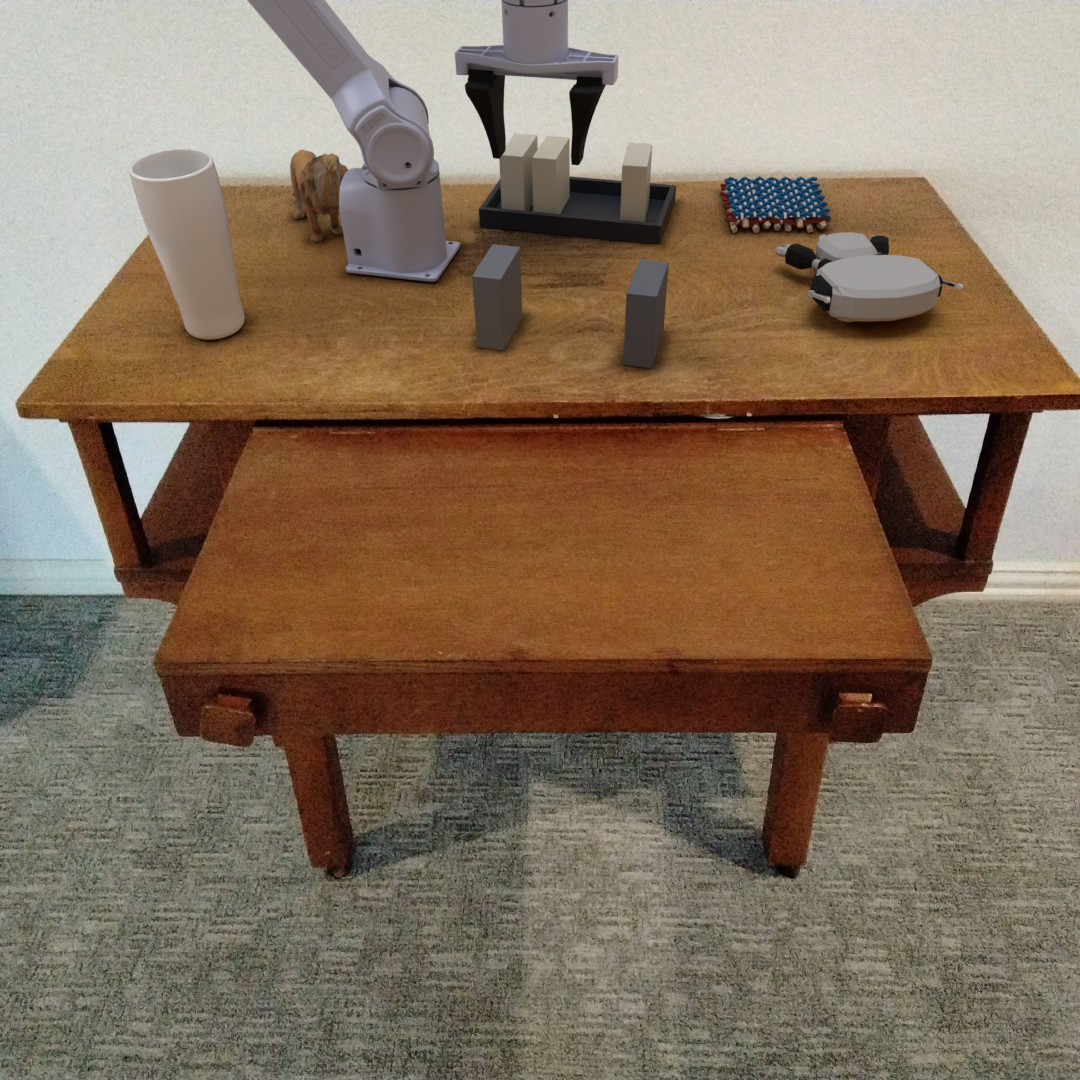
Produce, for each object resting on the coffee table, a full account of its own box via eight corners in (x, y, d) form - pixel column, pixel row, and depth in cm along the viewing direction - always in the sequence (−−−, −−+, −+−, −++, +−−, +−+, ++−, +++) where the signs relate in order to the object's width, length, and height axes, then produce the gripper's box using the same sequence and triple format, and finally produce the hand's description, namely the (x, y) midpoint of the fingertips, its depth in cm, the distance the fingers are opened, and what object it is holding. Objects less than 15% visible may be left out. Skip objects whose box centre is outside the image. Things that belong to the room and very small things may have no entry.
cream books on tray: (501, 215, 103) (498, 154, 99) (517, 192, 108) (514, 133, 103) (556, 220, 102) (555, 159, 98) (569, 197, 106) (569, 137, 102)
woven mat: (717, 191, 108) (719, 173, 107) (813, 191, 107) (816, 173, 106) (726, 233, 100) (728, 214, 99) (830, 233, 100) (834, 214, 98)
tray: (479, 227, 103) (478, 208, 101) (506, 188, 110) (505, 170, 108) (659, 244, 99) (661, 225, 97) (675, 203, 106) (676, 185, 105)
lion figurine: (373, 242, 100) (360, 155, 94) (325, 256, 98) (309, 168, 92) (315, 194, 110) (300, 112, 103) (271, 206, 107) (253, 122, 101)
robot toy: (763, 275, 95) (823, 344, 84) (769, 230, 92) (831, 295, 81) (882, 263, 97) (957, 330, 85) (891, 218, 94) (969, 281, 82)
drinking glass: (218, 354, 85) (170, 186, 75) (162, 335, 88) (108, 170, 77) (269, 319, 89) (231, 155, 79) (214, 302, 92) (170, 141, 82)
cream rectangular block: (619, 227, 101) (622, 164, 96) (625, 203, 105) (628, 142, 101) (643, 228, 100) (647, 166, 96) (648, 204, 105) (652, 143, 100)
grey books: (477, 347, 85) (471, 276, 80) (496, 313, 89) (492, 243, 85) (652, 368, 82) (657, 296, 77) (663, 332, 86) (668, 261, 82)
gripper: (627, -11, 84) (621, 147, 93) (467, -18, 87) (477, 136, 96) (611, 12, 79) (606, 176, 88) (442, 3, 82) (455, 164, 91)
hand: (538, 157), depth 92 cm, fingers open, 7 cm apart
